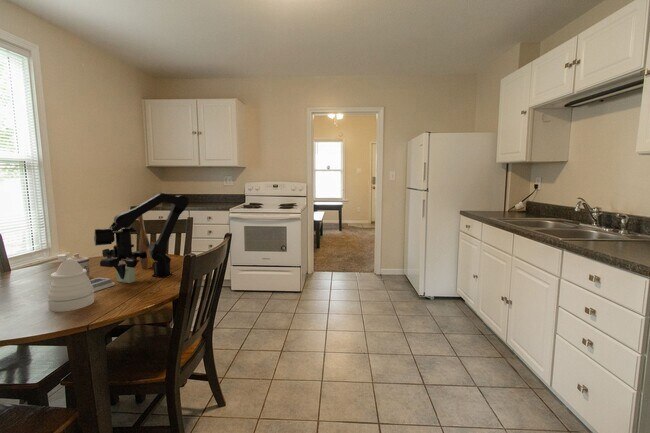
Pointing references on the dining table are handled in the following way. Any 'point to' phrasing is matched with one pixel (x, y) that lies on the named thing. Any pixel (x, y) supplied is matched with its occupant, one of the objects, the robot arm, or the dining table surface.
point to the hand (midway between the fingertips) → (125, 277)
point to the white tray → (101, 283)
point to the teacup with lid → (82, 262)
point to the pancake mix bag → (144, 246)
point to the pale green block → (127, 275)
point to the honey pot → (69, 287)
